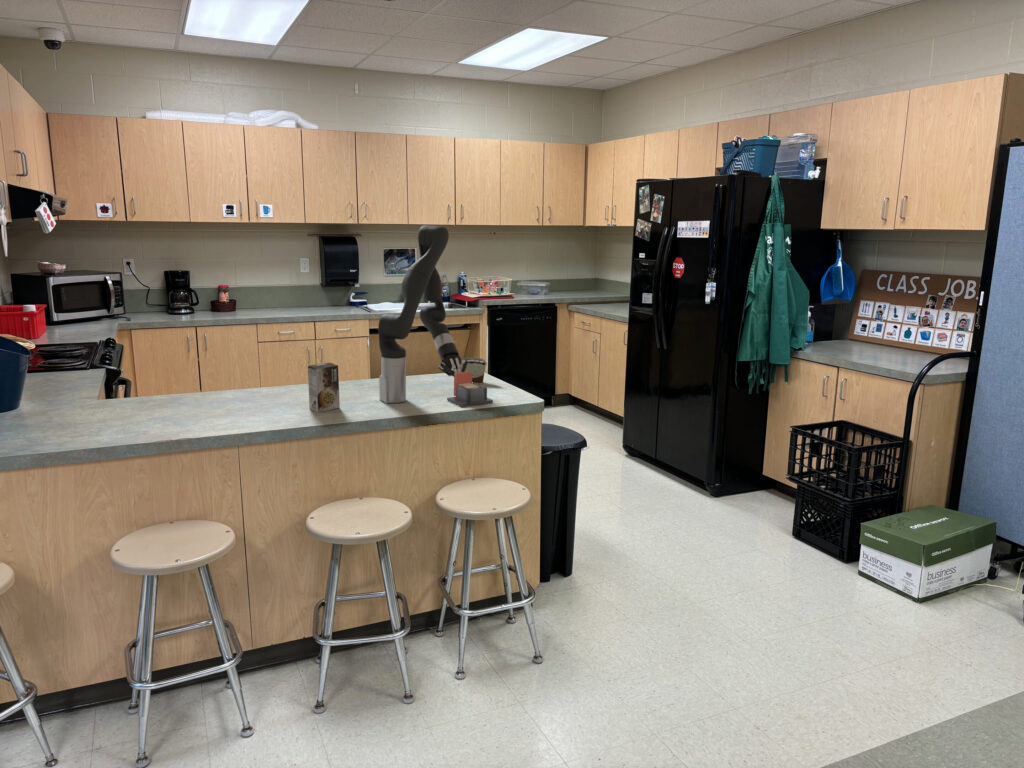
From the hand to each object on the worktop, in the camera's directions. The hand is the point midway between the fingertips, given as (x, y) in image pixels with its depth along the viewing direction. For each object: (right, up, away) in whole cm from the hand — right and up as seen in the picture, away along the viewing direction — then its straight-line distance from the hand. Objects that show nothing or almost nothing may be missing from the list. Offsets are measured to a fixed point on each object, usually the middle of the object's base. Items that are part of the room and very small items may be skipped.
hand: (460, 383), depth 278 cm
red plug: (+3, -5, -3) cm, 7 cm away
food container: (+3, +1, +30) cm, 30 cm away
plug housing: (+4, -7, -4) cm, 9 cm away
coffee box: (-48, -9, -20) cm, 53 cm away
